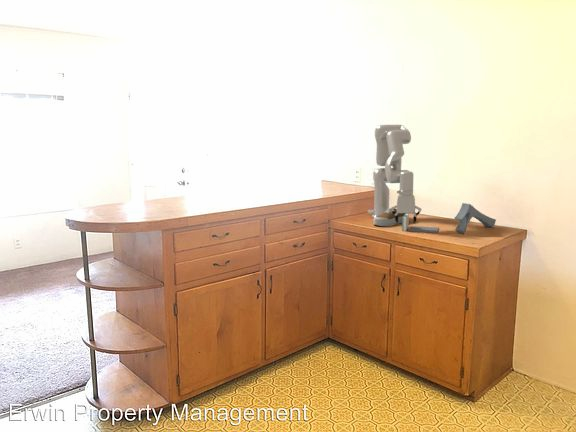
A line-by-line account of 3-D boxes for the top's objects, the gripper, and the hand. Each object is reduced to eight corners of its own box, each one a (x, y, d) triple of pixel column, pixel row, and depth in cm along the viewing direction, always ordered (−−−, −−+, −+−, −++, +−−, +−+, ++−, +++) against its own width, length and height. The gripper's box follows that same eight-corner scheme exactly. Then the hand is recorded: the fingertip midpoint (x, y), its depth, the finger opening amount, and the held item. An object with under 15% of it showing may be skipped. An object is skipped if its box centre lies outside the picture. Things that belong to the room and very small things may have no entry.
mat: (407, 231, 277) (407, 230, 277) (410, 226, 289) (410, 225, 289) (437, 232, 271) (437, 232, 271) (438, 228, 283) (438, 227, 283)
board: (402, 231, 277) (402, 217, 276) (405, 227, 288) (405, 213, 287) (405, 231, 277) (405, 217, 275) (408, 227, 288) (408, 213, 286)
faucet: (478, 244, 285) (449, 228, 267) (486, 217, 286) (458, 200, 269) (487, 246, 280) (459, 230, 262) (496, 219, 281) (468, 201, 264)
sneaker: (368, 225, 295) (368, 209, 293) (400, 219, 312) (400, 203, 310) (380, 228, 287) (381, 211, 285) (412, 221, 304) (413, 205, 302)
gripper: (389, 193, 278) (389, 223, 281) (421, 194, 272) (420, 224, 275) (392, 192, 285) (391, 220, 288) (422, 192, 279) (421, 222, 282)
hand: (405, 222), depth 281 cm, fingers open, 9 cm apart
